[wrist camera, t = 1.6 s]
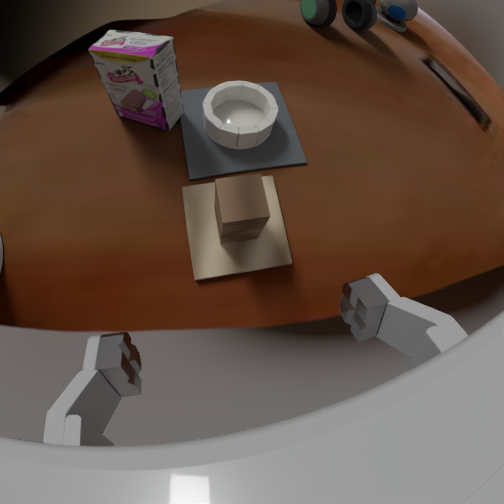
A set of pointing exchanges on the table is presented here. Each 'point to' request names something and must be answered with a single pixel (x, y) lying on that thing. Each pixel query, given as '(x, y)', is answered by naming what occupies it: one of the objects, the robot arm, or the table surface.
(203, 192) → the lid
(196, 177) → the mat
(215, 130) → the bowl
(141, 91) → the candy bar box
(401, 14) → the webcam
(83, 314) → the table surface
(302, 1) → the headphones
